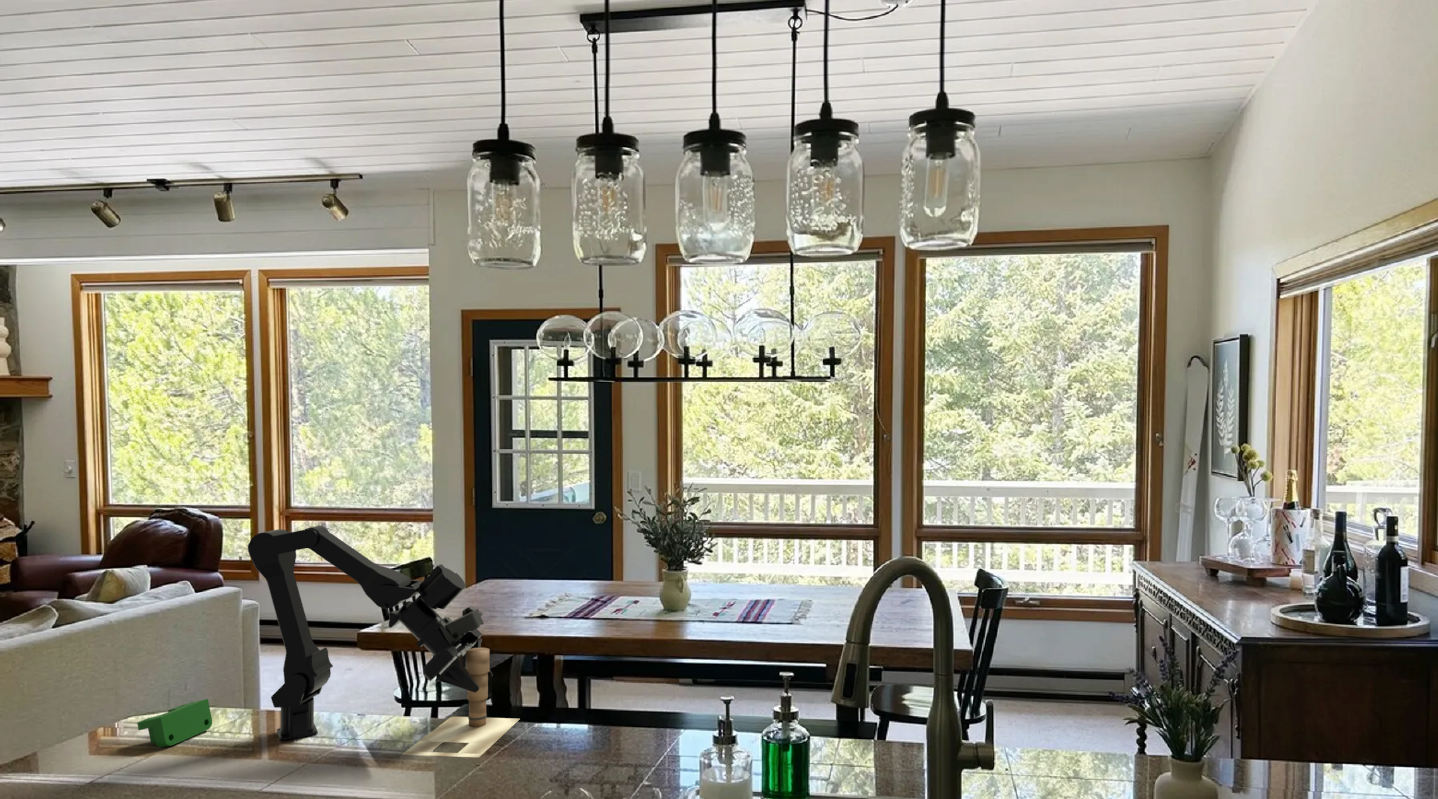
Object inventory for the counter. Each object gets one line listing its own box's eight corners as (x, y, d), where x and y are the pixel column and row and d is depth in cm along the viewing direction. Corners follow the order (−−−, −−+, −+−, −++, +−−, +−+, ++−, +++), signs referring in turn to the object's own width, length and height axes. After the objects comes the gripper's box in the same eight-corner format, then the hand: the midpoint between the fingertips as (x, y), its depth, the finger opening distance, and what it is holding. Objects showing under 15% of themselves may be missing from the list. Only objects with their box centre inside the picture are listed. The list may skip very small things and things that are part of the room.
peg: (462, 723, 162) (462, 649, 163) (485, 719, 165) (485, 646, 165) (469, 730, 159) (469, 654, 159) (492, 725, 161) (492, 651, 162)
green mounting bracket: (183, 754, 164) (189, 705, 168) (209, 748, 163) (214, 699, 167) (129, 750, 154) (137, 699, 158) (156, 744, 153) (164, 692, 157)
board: (401, 763, 147) (401, 754, 147) (451, 724, 167) (451, 716, 167) (478, 766, 145) (478, 757, 145) (520, 726, 165) (520, 718, 165)
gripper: (440, 605, 154) (500, 666, 153) (471, 587, 172) (526, 641, 172) (397, 650, 153) (457, 711, 153) (433, 626, 172) (487, 681, 171)
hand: (484, 683), depth 162 cm, fingers open, 8 cm apart
